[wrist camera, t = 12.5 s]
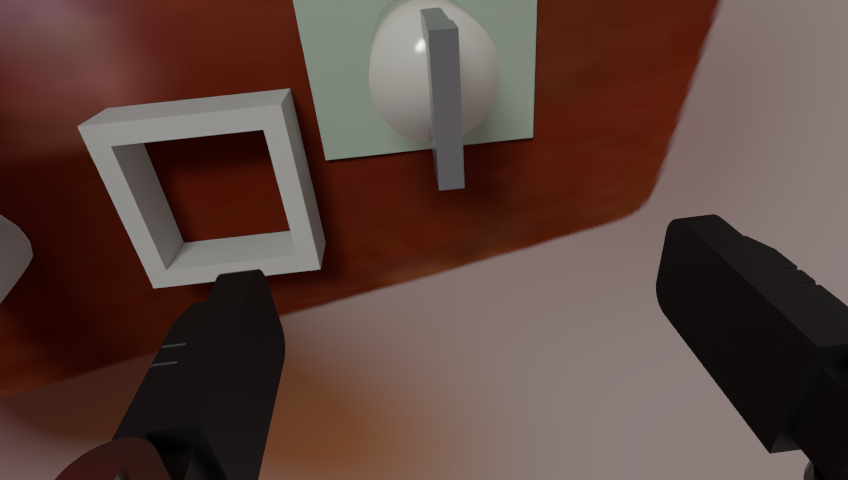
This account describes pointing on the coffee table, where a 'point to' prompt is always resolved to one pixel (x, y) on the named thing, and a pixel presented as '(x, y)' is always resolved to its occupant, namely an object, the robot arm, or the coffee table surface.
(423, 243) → the coffee table surface
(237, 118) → the frame
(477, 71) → the egg with flat handle
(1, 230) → the foam cup
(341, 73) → the mat
